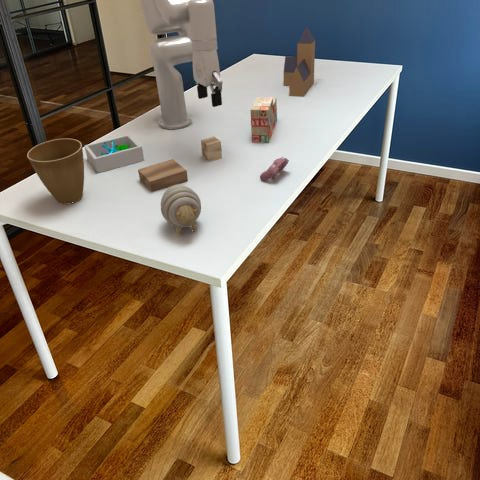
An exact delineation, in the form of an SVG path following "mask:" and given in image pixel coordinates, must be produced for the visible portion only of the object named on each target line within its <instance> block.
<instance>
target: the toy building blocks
mask: <svg viewBox="0 0 480 480" xmlns="http://www.w3.org/2000/svg"><path fill="white" fill-rule="evenodd" d="M304 28H305V29H304V31H303V32H302V34H301V36H300V38H299V39H298V42H297V46H296V48H297V49H296V50H297V51H296V56H293V55H292V56H291V55H284V56H285V57H284V64H283V87H288V88H289V95H288V96H289V97H299V98H300V97H302V98H304V97H305V96H306V95H307V93H308V92H309V90H311V89H312V86H313V85H314V83H315V60H316V59H315V56H316V53H315V51H316V39H315V38H314V36H313V35H312V32H311V31H310V29H309V28H308V26H306V27H304Z"/></svg>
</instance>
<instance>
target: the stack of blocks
mask: <svg viewBox="0 0 480 480" xmlns="http://www.w3.org/2000/svg"><path fill="white" fill-rule="evenodd" d="M277 121H278V106H277V97H276V96H260V97H259V96H258V97H257V96H256V97H255V100H254V102H253V104H252V106H251V107H250V128H251V130H250V131H251V143H257V144H259V143H261V144H269V143H270V141H271V139H272V136H273V134H274V129H275V127H276V125H277Z"/></svg>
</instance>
